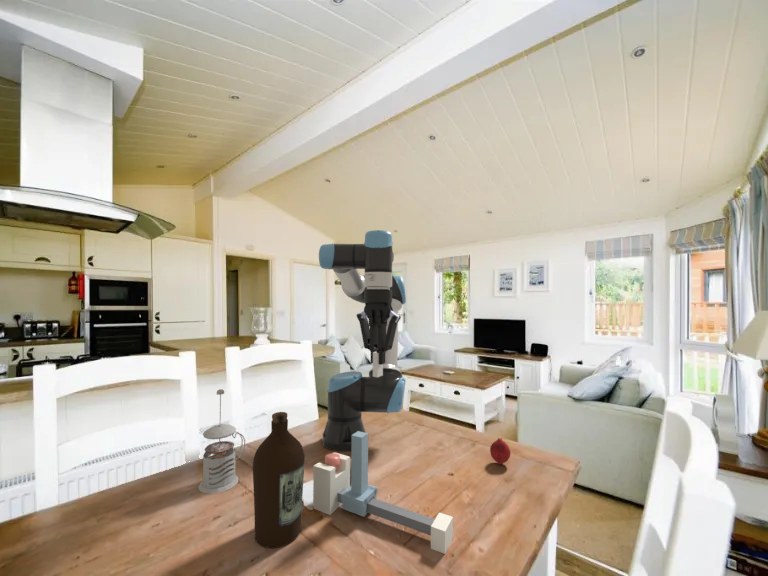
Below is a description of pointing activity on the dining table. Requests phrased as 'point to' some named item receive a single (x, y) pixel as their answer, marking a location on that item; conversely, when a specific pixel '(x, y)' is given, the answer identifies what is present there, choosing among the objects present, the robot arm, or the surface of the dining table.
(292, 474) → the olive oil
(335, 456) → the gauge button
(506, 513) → the dining table surface
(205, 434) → the french press
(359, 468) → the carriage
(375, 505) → the slide rail
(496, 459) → the onion
